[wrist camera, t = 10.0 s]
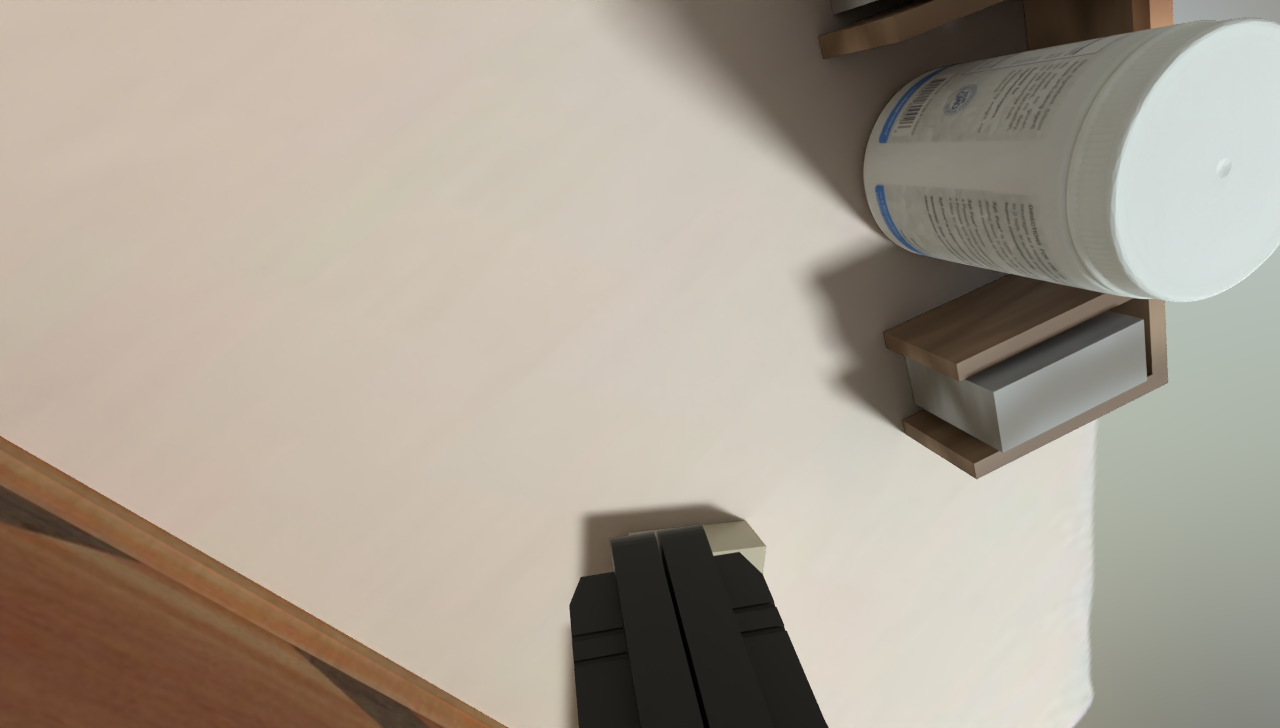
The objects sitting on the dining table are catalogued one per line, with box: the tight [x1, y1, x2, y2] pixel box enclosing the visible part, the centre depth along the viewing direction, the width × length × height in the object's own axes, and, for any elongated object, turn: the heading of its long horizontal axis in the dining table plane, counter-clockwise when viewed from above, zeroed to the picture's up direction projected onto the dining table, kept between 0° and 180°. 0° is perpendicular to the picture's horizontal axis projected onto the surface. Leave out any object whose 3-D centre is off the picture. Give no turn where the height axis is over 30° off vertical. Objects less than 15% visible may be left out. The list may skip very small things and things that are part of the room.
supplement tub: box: [863, 18, 1280, 302], centre depth 29 cm, size 10×10×15 cm
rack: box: [819, 0, 1173, 479], centre depth 32 cm, size 29×13×10 cm, turn 19°
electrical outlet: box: [628, 521, 766, 574], centre depth 40 cm, size 7×4×18 cm
